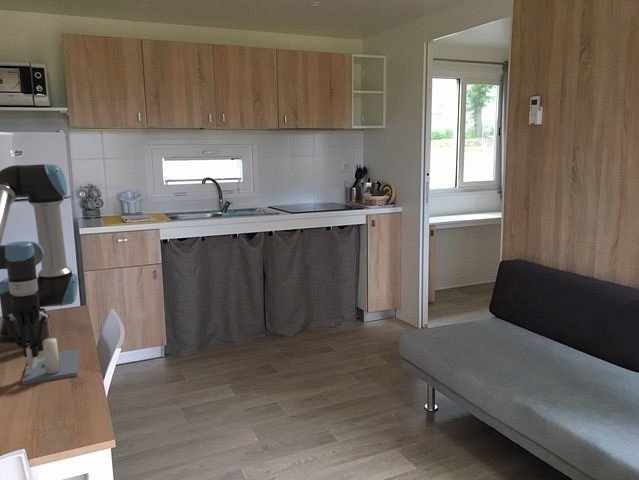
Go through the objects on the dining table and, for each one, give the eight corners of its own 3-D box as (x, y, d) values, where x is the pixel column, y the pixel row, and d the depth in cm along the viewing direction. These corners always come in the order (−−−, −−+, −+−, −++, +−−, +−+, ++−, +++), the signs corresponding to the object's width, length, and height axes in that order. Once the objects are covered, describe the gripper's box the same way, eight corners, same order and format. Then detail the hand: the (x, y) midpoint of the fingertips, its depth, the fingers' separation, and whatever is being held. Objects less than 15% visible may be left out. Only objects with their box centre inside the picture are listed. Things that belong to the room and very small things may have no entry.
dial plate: (30, 359, 179) (29, 355, 179) (79, 352, 184) (79, 348, 184) (21, 385, 159) (21, 380, 158) (77, 375, 164) (76, 372, 164)
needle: (45, 354, 178) (41, 326, 176) (59, 352, 180) (56, 324, 178) (44, 374, 162) (41, 343, 160) (60, 371, 163) (57, 340, 162)
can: (42, 351, 186) (38, 312, 184) (27, 350, 187) (22, 312, 185) (54, 345, 192) (50, 307, 190) (39, 344, 193) (35, 307, 191)
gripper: (-5, 296, 156) (5, 372, 160) (38, 296, 156) (47, 371, 160) (10, 290, 164) (19, 362, 168) (52, 289, 163) (59, 361, 167)
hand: (32, 366), depth 164 cm, fingers closed
